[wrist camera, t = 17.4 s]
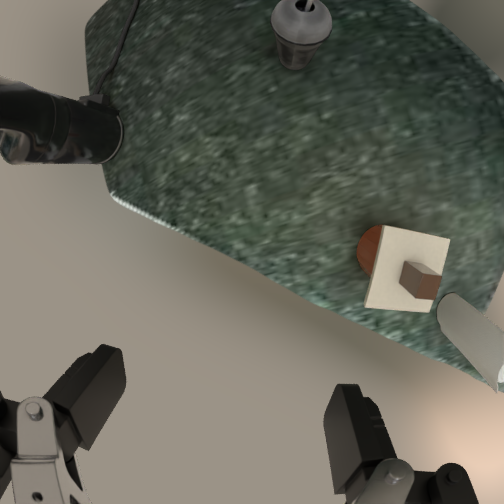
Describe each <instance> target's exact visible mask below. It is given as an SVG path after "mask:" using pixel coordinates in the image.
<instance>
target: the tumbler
mask: <svg viewBox="0 0 504 504" xmlns="http://www.w3.org/2000/svg"><path fill="white" fill-rule="evenodd" d="M383 225H384V224H382V225H376V226H374V227H371V228H370V229H368V230H367V231H366V232H365V233H364V234H363V236H362V237H361V239H360V241H359V243H358V246H357V260H358V263H359V265H360V267H361V268H362V270H363V271H364V272H365V273H366V274H367V275H368V276H369V277H370V278H371V275H372V271H373V267H374V262H375V258H376V254H377V249H378V245H379V240H380V235H381V231H382V226H383ZM388 226H389V225H388Z"/></svg>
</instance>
